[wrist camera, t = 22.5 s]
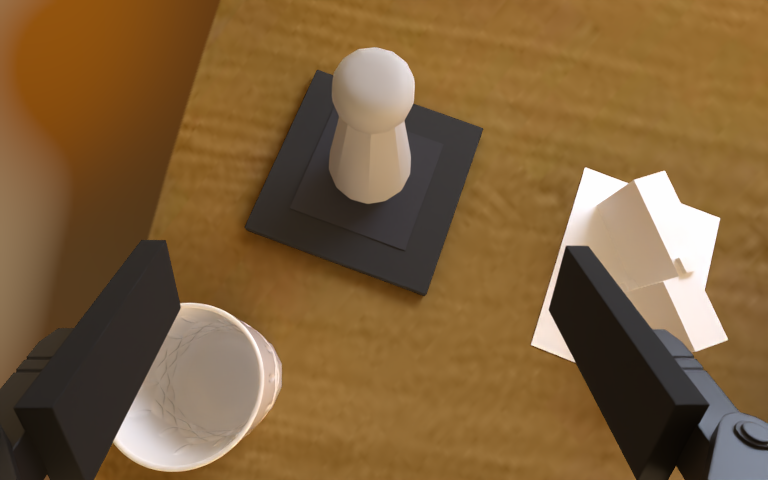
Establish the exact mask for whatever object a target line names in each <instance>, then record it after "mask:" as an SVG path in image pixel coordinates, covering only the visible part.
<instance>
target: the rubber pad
mask: <svg viewBox="0 0 768 480" xmlns="http://www.w3.org/2000/svg"><path fill="white" fill-rule="evenodd" d="M332 82H333V75H331V74H328V73H325V72H322V71H319V70H317V71H316V73H315V75H314V78H313V80H312V82H311V84H310V86H309V88H308V91H307V93H306V95H305V97H304V99H303V101H302V104H301V106H300V108H299V110H298V112H297V114H296V117H295V119H294V121H293V123H292V125H291V128H290V130H289V132H288V134H287V136H286V138H285V141H284V143H283V145H282V147H281V149H280V151H279V154H278V156H277V158H276V160H275V162H274V164H273V167H272V169H271V171H270V173H269V175H268V177H267V180H266V182H265V184H264V186H263V188H262V190H261V193H260V195H259V197H258V199H257V201H256V203H255V206H254V208H253V210H252V212H251V214H250V216H249V219H248V221H247V223H246V225H245V229H246V230H247V231H250V232H253V233H255V234H258V235H261V236H263V237H266V238H269V239H271V240H274V241H277V242H280V243H282V244H285V245H288V246H290V247H293V248H296V249H299V250H301V251H304V252H307V253H309V254H312V255H315V256H317V257H320V258H323V259H326V260H328V261H331V262H334V263H336V264H339V265H342V266H344V267H347V268H350V269H353V270H355V271H358V272H361V273H363V274H366V275H369V276H371V277H374V278H377V279H380V280H382V281H385V282H388V283H390V284H393V285H396V286H398V287H401V288H404V289H407V290H409V291H412V292H415V293H417V294H420V295H423V296H425V295H426V294H427V291H428V288H429V285H430V282H431V279H432V276H433V274H434V271H435V268H436V265H437V262H438V259H439V256H440V253H441V250H442V247H443V244H444V242H445V239H446V236H447V233H448V230H449V227H450V224H451V221H452V218H453V215H454V212H455V209H456V207H457V204H458V201H459V198H460V195H461V192H462V189H463V186H464V183H465V180H466V177H467V175H468V172H469V169H470V166H471V163H472V160H473V157H474V154H475V151H476V148H477V145H478V142H479V140H480V137H481V134H482V131H483V128H481V127H478V126H475V125H472V124H469V123H466V122H464V121H461V120H458V119H455V118H452V117H449V116H447V115H444V114H441V113H438V112H435V111H432V110H430V109H427V108H424V107H421V106H418V105H415V104H413V105H412V108H411V110H410V111H409V113H408V115H407V117H406V118H405V120H404V121H405V127H406V132H407V138H408V143H409V148H410V154H411V167H410V175H409V177H408V179H407V181H406V183H405V185H404V187H403V188H402V190H401V191H400V192H399V193H397V194H395V195H394V196H392V197H391V198H389V199H388V200H386V201H383V202H377V203H371V204H366V203H362V202H359V201H355V200H352V199H350V198H348V197H347V196H346V195H345V194H344V193H342V192H341V191H340V190H339V189H338V188H337V187H336V185H335V183H334V181H333V178H332V176H331V174H330V171H329V158H330V150H331V146H332V142H333V138H334V135H335V131H336V127H337V123H338V119H339V115H338V113H337V111H336V108H335V106H334V104H333V100H332Z"/></svg>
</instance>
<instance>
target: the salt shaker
mask: <svg viewBox="0 0 768 480" xmlns="http://www.w3.org/2000/svg"><path fill="white" fill-rule="evenodd" d="M414 88H415V83H414V77H413V75H412V73H411V71H410V69H409V67H408V65H407V63H406V62H405V61H404V60H402V59H401V58H400V57H399V56H397V55H396V54H395V53H394V52H392V51H388V50H384V49H380V48H376V47H375V48H366V49H358V50H356V51H355V52H353V53H351V54H350V55H348V56H347V57H345V58H343V60H342V61H341V63H340V64H339V66H338V67H337V69H336V70H335V72H334V75H333V82H332V100H333V104H334V106H335V108H336V111H337V113H338V115H339V119H338V123H337V127H336V131H335V135H334V138H333V142H332V146H331V150H330V158H329V171H330V174H331V176H332V178H333V181H334V183H335V185H336V187H337V188H338V189H339V190H340V191H341V192H342V193H344V194H345V195H346V196H347V197H348V198H350V199H352V200H355V201H359V202H362V203H366V204H371V203H377V202H383V201H386V200H388V199H389V198H391V197H392V196H394V195H395V194H397V193H399V192H400V191H401V190H402V188H403V187H404V185H405V183H406V181H407V179H408V177H409V175H410V167H411V154H410V148H409V143H408V138H407V132H406V127H405V121H404V120H405V118H406V117H407V115H408V113H409V111H410V110H411V108H412V105H413V102H414Z"/></svg>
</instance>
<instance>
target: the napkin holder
mask: <svg viewBox="0 0 768 480" xmlns="http://www.w3.org/2000/svg"><path fill="white" fill-rule="evenodd" d="M719 221H720V218H718V217H716V216H713V215H710V214H708V213H705V212H703V211H700V210H697V209H695V208H692V207H689V206H687V205H684V204H681V203H680V201H679V199H678V197H677V195H676V193H675V191H674V189H673V186H672V184H671V182H670V180H669V178H668V176H667V174H666V172H665V171H662V172H658V173H655V174H652V175H649V176H645V177H642V178H639V179H635V180H633V181H632V182H630V183H629V184H628V183H626V182H623V181H620V180H618V179H615V178H612V177H610V176H607V175H604V174H602V173H599V172H596V171H594V170H591V169H589V168H586V167H585V169H584V172H583V176H582V179H581V182H580V185H579V189H578V192H577V195H576V199H575V202H574V205H573V208H572V212H571V215H570V218H569V222H568V225H567V228H566V231H565V235H564V238H563V241H562V245H561V248H560V251H559V254H558V258H557V261H556V264H555V268H554V271H553V274H552V277H551V281H550V284H549V287H548V291H547V294H546V297H545V300H544V304H543V307H542V310H541V314H540V317H539V320H538V323H537V327H536V330H535V333H534V337H533V340H532V343H531V345H532V346H535V347H537V348H540V349H542V350H545V351H547V352H550V353H552V354H555V355H557V356H560V357H562V358H565V359H568V360H570V361H573V362H575V360H574V358H573V356H572V354H571V353H570V351H569V349H568V347H567V345H566V343H565V341H564V339H563V337H562V335H561V333H560V331H559V329H558V327H557V326H556V324H555V322H554V320H553V318H552V316H551V314H550V312H549V306H550V302H551V299H552V295H553V291H554V288H555V284H556V280H557V277H558V273H559V269H560V266H561V262H562V258H563V254H564V251H565V247H566V246H589V247H590V249H591V250H592V251H593V253H594V254H595V255H596V257H597V258H598V259H599V261H600V262H601V263H602V264H603V266H604V267H605V268H606V270H607V271H608V272H609V274H610V275H611V276H612V278H613V279H614V280H615V281H616V283H617V284H618V285H619V287H620V288H621V289H622V291H623V292H624V293H625V294H626V296H627V297H628V298H629V300H630V301H631V302H632V304H633V305H634V306H635V308H636V309H637V310H638V311H639V313H640V314H641V315H642V317H643V318H644V319H645V321H646V322H647V323H648V324H649V326H650V327H651V328H652V329H665V330H667V331H668V332H669V333H671V334H672V335H673V336H675V337H676V338H678V339H679V340H680V341H682V342H683V343H684V345H685V346H686V347H687V348H688V350H689V351H690V352H696V351H699V350H702V349H704V348H707V347H710V346H713V345H716V344H718V343H721V342H724V341H727V340H728V338H727V336H726V334H725V332H724V330H723V328H722V326H721V323H720V321H719V319H718V317H717V315H716V313H715V311H714V309H713V307H712V305H711V302H710V300H709V298H708V296H707V294H706V292H705V286H706V281H707V277H708V272H709V267H710V266H711V265H710V263H711V258H712V254H713V249H714V244H715V240H716V235H717V231H718V226H719ZM575 363H576V362H575Z"/></svg>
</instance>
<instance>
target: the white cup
mask: <svg viewBox="0 0 768 480" xmlns="http://www.w3.org/2000/svg"><path fill="white" fill-rule="evenodd" d="M180 306H181V309H180V311H179V313H178V315H177V317H176V319H175V321H174V323H173V325H172V327H171V329H170V331H169V332H168V334H167V336H166V338H165V340H164V342H163V344H162V346H161V348H160V350H159V352H158V354H157V356H156V358H155V360H154V362H153V364H152V366H151V368H150V370H149V372H148V374H147V376H146V378H145V380H144V382H143V384H142V386H141V388H140V390H139V392H138V394H137V396H136V397H135V399H134V401H133V403H132V405H131V407H130V409H129V411H128V413H127V415H126V417H125V419H124V421H123V423H122V425H121V427H120V429H119V431H118V433H117V435H116V437H115V439H114V441H113V443H114V444H115V446H116V447H117V448H118V449H119V450H120V451H121V452H122V453H123V454H124V455H125V456H127V457H128V458H129V459H131V460H132V461H134V462H136V463H138V464H140V465H142V466H144V467H147V468H150V469H154V470H158V471H165V472H180V471H187V470H192V469H196V468H199V467H202V466H205V465H207V464H209V463H211V462H213V461H215V460H217V459H218V458H220V457H222V456H223V455H224V454H226V453H227V452H228V451H230V450H231V449H232V448H233V447H234V446H235V445H236V444H237V443H239V442H240V441H241V440H242V439H243V438H244V437H245V436H247V435H248V434H249V433H250V432H251V431H252V430H253V429H254V428H255V427H256V426H257V425H258V424H259V423H260V422H261V421H262V419H263V418H264V417H265V416H266V414H267V413H268V412H269V411H270V410H271V409H272V407H273V405H274V403H275V401H276V398H277V396H278V394H279V392H280V390H281V388H282V364H281V362H280V359H279V357H278V355H277V353H276V351H275V349H274V347H273V345H272V344H271V343H270V342H268V341H267V340H266V339H265V338H264V337H263V336H262V335H261V334H260V333H259V332H257V331H256V330H255V329H253V328H252V327H251V326H249V325H248V324H246V323H245V322H243V321H241V320H239V319H237V318H236V317H234V316H232V315H230V314H229V313H227V312H225V311H223V310H221V309H219V308H216V307H213V306H210V305H206V304H200V303H180Z"/></svg>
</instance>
